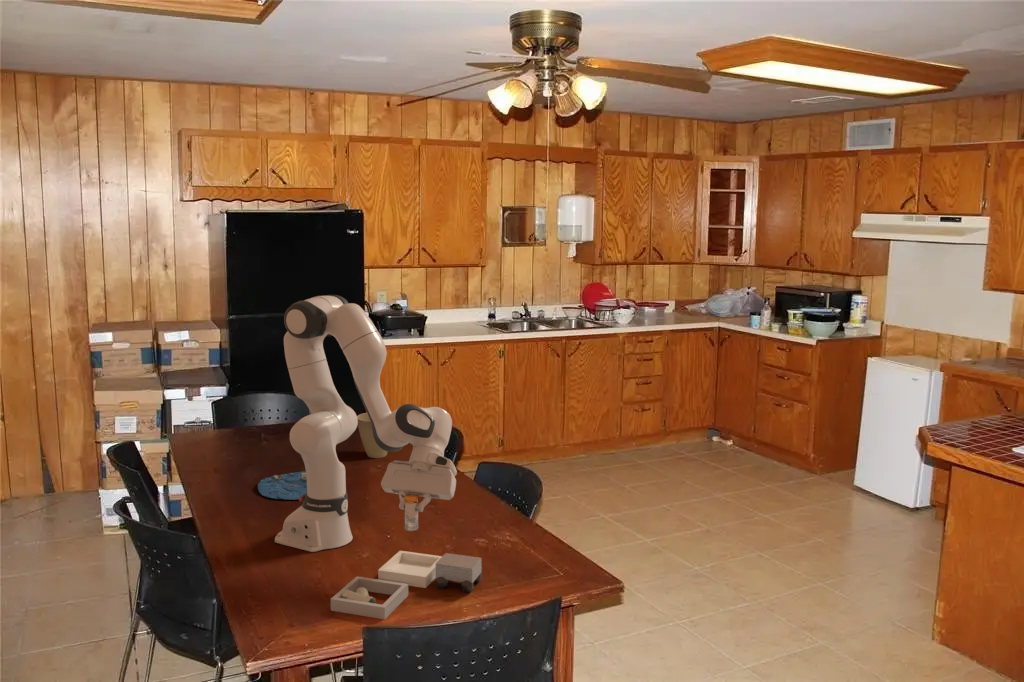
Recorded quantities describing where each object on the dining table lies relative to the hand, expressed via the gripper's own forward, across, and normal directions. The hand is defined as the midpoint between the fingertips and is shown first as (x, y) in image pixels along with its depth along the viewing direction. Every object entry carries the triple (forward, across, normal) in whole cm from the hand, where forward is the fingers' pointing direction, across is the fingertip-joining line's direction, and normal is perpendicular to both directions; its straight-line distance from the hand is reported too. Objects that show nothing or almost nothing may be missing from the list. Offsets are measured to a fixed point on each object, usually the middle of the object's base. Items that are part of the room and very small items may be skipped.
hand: (410, 509), depth 221 cm
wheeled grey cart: (+11, +14, +14) cm, 23 cm away
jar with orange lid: (+3, 0, +4) cm, 5 cm away
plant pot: (-55, -58, +81) cm, 114 cm away
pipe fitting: (+27, -4, 0) cm, 27 cm away
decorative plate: (-25, -66, +52) cm, 87 cm away
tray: (+12, 0, +13) cm, 18 cm away
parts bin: (+26, -3, 0) cm, 26 cm away
